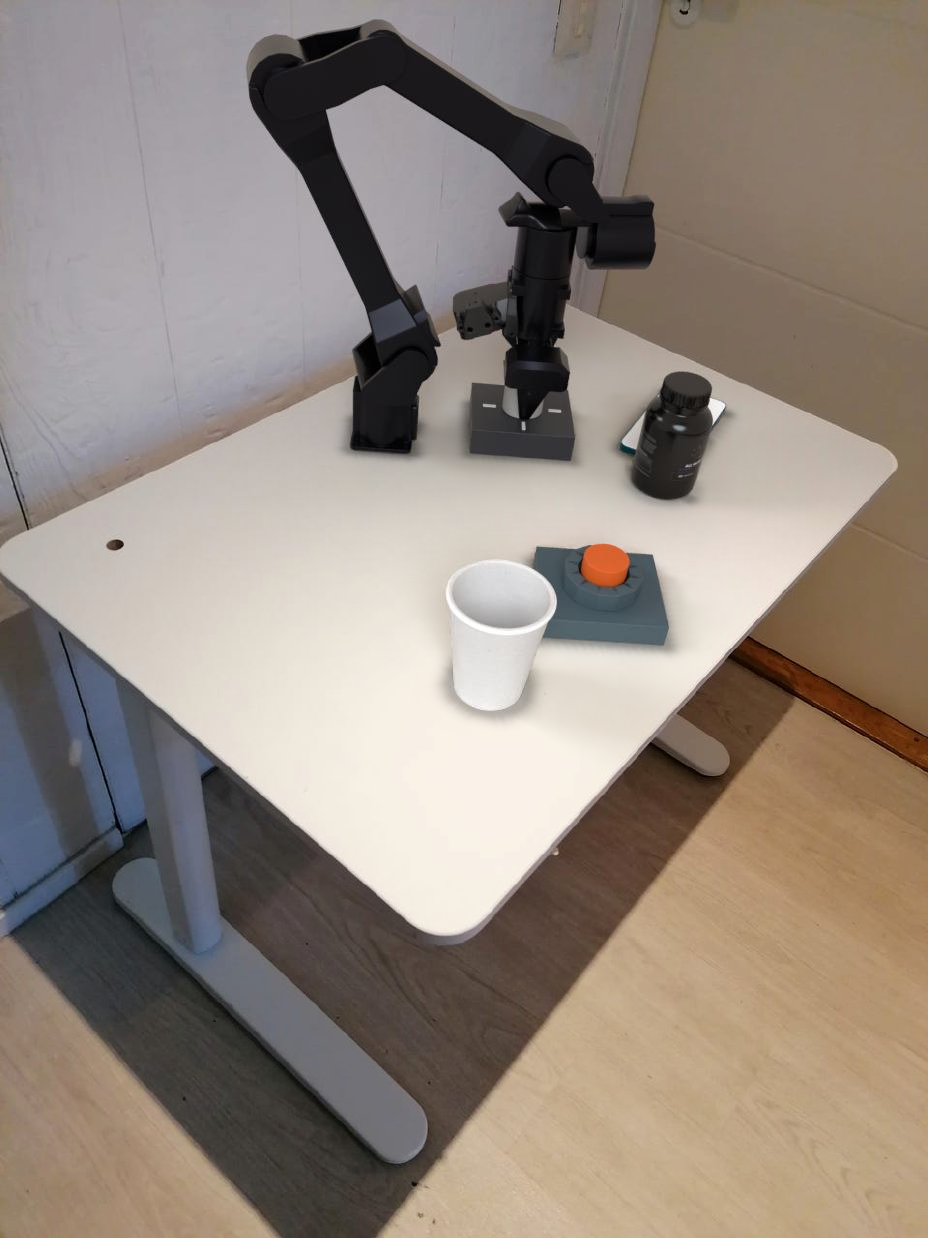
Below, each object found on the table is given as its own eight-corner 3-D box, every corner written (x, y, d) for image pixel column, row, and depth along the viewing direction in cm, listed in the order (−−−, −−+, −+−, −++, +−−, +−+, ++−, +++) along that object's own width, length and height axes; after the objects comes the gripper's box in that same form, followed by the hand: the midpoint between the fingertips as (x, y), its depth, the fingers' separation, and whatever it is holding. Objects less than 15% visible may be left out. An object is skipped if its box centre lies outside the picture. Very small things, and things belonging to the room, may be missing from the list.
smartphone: (683, 474, 105) (727, 410, 116) (685, 467, 104) (729, 403, 115) (615, 450, 107) (664, 389, 118) (617, 443, 107) (666, 382, 117)
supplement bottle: (692, 507, 100) (722, 408, 92) (627, 495, 101) (650, 395, 93) (695, 469, 105) (723, 371, 97) (632, 458, 106) (655, 360, 97)
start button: (582, 586, 84) (586, 570, 83) (578, 557, 87) (582, 541, 86) (628, 589, 84) (632, 573, 83) (622, 560, 87) (626, 544, 86)
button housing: (538, 637, 84) (545, 603, 81) (533, 564, 91) (539, 530, 89) (663, 645, 85) (674, 612, 82) (648, 572, 92) (657, 538, 89)
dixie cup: (559, 700, 79) (579, 609, 72) (473, 738, 75) (486, 646, 68) (501, 636, 84) (515, 546, 77) (418, 669, 80) (425, 577, 73)
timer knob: (543, 420, 105) (548, 384, 102) (502, 417, 104) (507, 381, 102) (540, 399, 108) (546, 364, 105) (501, 396, 108) (506, 361, 105)
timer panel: (469, 453, 104) (472, 428, 102) (469, 405, 112) (472, 380, 109) (570, 461, 105) (575, 436, 103) (564, 412, 112) (568, 388, 110)
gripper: (461, 224, 102) (450, 360, 113) (459, 302, 88) (448, 448, 99) (566, 233, 103) (546, 367, 113) (581, 312, 89) (556, 456, 99)
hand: (523, 407), depth 106 cm, fingers closed on timer knob, 4 cm apart
